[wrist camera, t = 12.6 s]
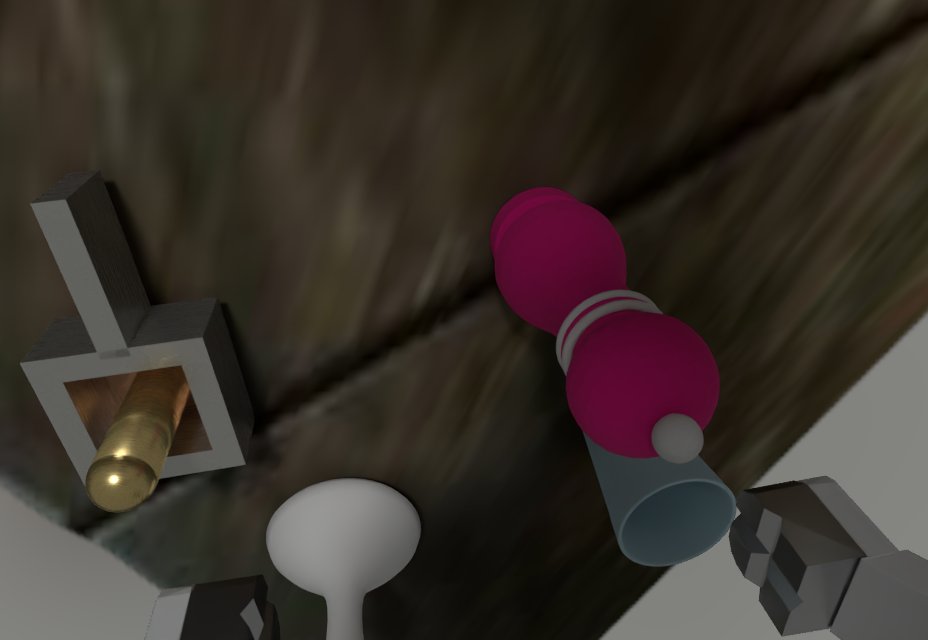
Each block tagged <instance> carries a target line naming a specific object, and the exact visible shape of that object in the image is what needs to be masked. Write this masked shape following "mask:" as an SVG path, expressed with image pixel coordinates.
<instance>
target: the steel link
mask: <svg viewBox="0 0 928 640" xmlns="http://www.w3.org/2000/svg"><path fill="white" fill-rule="evenodd" d="M31 206H32V208H33V211H34V213H35V215H36V217H37V220H38V222H39V224H40V226H41V228H42V231H43V233H44V235H45V237H46V240H47V242H48V244H49V246H50V249H51V251H52V253H53V255H54V257H55V260H56V262H57V264H58V266H59V269H60V271H61V273H62V275H63V277H64V280H65V282H66V284H67V286H68V289H69V291H70V293H71V295H72V297H73V300H74V302H75V304H76V306H77V309H78V311H79V313H80V316H73V317H65V318H58V319H55V320H54V321H53V322H52V323H51V325H50V326H49V327H48V328H47V330H46V331H45V332H44V333H43V335H42V336H41V337H40V338H39V340H38V341H37V342H36V343H35V345H34V346H33V347H32V348H31V350H30V351H29V352H28V353H27V355H26V356H25V357H24V358H23V360H22V361H21V362H20V365H21V367H22V368H23V370H24V372H25V374H26V376H27V378H28V380H29V382H30V383H31V385H32V387H33V389H34V391H35V393H36V395H37V397H38V399H39V400H40V402H41V404H42V406H43V408H44V410H45V412H46V414H47V415H48V417H49V419H50V421H51V423H52V425H53V427H54V429H55V430H56V432H57V434H58V436H59V438H60V440H61V442H62V444H63V446H64V447H65V449H66V451H67V453H68V455H69V457H70V459H71V461H72V462H73V464H74V466H75V468H76V470H77V472H78V474H79V476H80V477H81V479H82V481H83V483H84V485H85V480H86V475H87V472H88V470H89V467H90V465H91V463H92V461H93V459H94V457H95V455H96V453H97V451H98V449H99V447H100V445H101V443H102V441H103V439H104V438H105V436H106V434H107V432H108V430H109V428H110V426H111V424H112V422H113V420H114V418H115V416H116V414H117V412H118V410H119V408H120V406H121V404H122V402H121V399H120V397H119V395H118V393H117V391H116V388H115V386H114V384H113V382H112V379H111V377H110V376H111V375H118V374H125V373H132V372H138V371H145V370H152V369H159V368H166V367H173V366H180V365H182V368H183V371H184V373H185V376H186V379H187V382H188V384H189V387H190V390H191V392H192V395H193V398H194V400H195V403H196V406H197V407H192V408H186V409H184V410H183V413H182V416H181V419H180V421H179V424H178V427H177V430H176V433H175V435H174V438H173V441H172V444H171V447H170V449H169V452H168V455H167V458H166V460H165V463H164V466H163V469H162V472H161V474H160V477H159V479H160V478H167V477H173V476H179V475H185V474H191V473H198V472H204V471H210V470H216V469H222V468H228V467H235V466H241V465H246V461H247V455H248V450H249V445H250V440H251V435H252V430H253V425H254V420H255V415H254V412H253V408H252V405H251V402H250V399H249V396H248V392H247V389H246V386H245V383H244V380H243V376H242V373H241V370H240V367H239V364H238V360H237V357H236V354H235V351H234V347H233V344H232V341H231V338H230V335H229V331H228V328H227V325H226V322H225V319H224V315H223V312H222V309H221V306H220V303H219V299H218V297H214V298H206V299H199V300H192V301H184V302H177V303H169V304H162V305H154V306H151V305H150V302H149V299H148V297H147V294H146V291H145V289H144V286H143V284H142V281H141V278H140V276H139V273H138V270H137V268H136V265H135V262H134V260H133V257H132V254H131V252H130V249H129V247H128V244H127V241H126V239H125V236H124V233H123V231H122V228H121V225H120V223H119V220H118V217H117V215H116V212H115V210H114V207H113V204H112V202H111V199H110V196H109V194H108V191H107V188H106V186H105V183H104V180H103V178H102V175H101V173H100V170H95V171H86V172H77V173H69V174H67V175H66V176H65V177H64V178H62V179H61V180H60V181H58V182H57V183H56V184H55V185H53V186H52V187H51V188H50V189H48V190H47V191H46V192H44V193H43V194H42V195H41V196H39V197H38V198H37V199H36V200H34V201H33V202H32V203H31ZM85 487H86V485H85Z"/></svg>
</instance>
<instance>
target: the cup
mask: <svg viewBox="0 0 928 640" xmlns="http://www.w3.org/2000/svg"><path fill="white" fill-rule="evenodd" d="M583 433H584V432H583ZM584 437H585V440H586V443H587V446H588V449H589V452H590V456H591V459H592V462H593V465H594V468H595V471H596V474H597V477H598V480H599V483H600V487H601V490H602V493H603V496H604V499H605V502H606V505H607V508H608V511H609V514H610V519H611V522H612V525H613V528H614V532H615V535H616V538H617V541H618V544H619V547H620V549H621V551H622V552H623V554H624V555H625V556H626V557H627V558H629V559H630V560H632V561H634V562H636V563H638V564H641V565H646V566H669V565H674V564H679V563H682V562H684V561H687V560H690V559H692V558H694V557H696V556H699V555H700V554H702V553H704V552H706V551H707V550H709V549H710V548H711V547H713V546H714V545H715V544H716V543H717V542H719V541H720V540H721V538H722V537H723V536H724V535H725V534H726V532H727V531H728V530H729V528H730V527H731V523H732V522H733V521H734V518H735V514H736V500H735V497H734V495H733V493H732V492H731V490H730V489H729V488H728V487H727V486H726V485H725V484H724V483H723V482H722V480H721V479H720V478H719V477H718V476H717V475H716V474H715V473H714V472H713V471H712V469H711V468H710V467H709V466H708V465H707V464H706V463H705V462H704V461H703V460H702V459H701V458H700V457H699V455H697V456H696V457H695V458H694V459H693V460H691V461H689V462H687V463H679V464H677V463H672V462H668V461H667V460H665V459H663V458H662V457H661V456H659V457H653V458H629V457H625V456H621V455H617V454H614V453H611V452H608V451H607V450H605V449H604V448H602V447H600V446H599V445H597V444H596V443H594V442H593V441H592V440H591V439H590V438H589V437H588V436H587V435H586V434H585V433H584Z"/></svg>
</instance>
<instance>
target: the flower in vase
mask: <svg viewBox="0 0 928 640" xmlns="http://www.w3.org/2000/svg"><path fill="white" fill-rule="evenodd" d="M420 534H421V523H420V519H419V516H418V513H417V511H416V509H415V508H414V506H413V505H412V504H411V503H410V502H409V501H408V500H407V499H406V498H405V497H404V496H403V495H401V494H400V493H399V492H397V491H396V490H394V489H393V488H391V487H389V486H387V485H385V484H382V483H380V482H376V481H373V480H368V479H361V478H339V479H332V480H327V481H323V482H319V483H316V484H313V485H311V486H309V487H306V488H304V489H303V490H301V491H299V492H297V493H296V494H295V495H293V496H292V497H291V498H289V499H288V500H287V501H286V502H285V503H283V504H282V505H281V506H280V507H279V508H278V510H277V511H276V512H275V513H274V515H273V517H272V518H271V520H270V522H269V525H268V528H267V533H266V543H267V548H268V551H269V554H270V557H271V559H272V561H273V564H274V565H275V567H276V568H277V569H278V570H279V572H280V573H281V574H282V575H284V576H285V577H286V578H287V579H289V580H290V581H291V582H293V583H294V584H296V585H297V586H299V587H301V588H303V589H305V590H307V591H310V592H313V593H316V594H319V595H322V596H324V597H325V599H326V602H327V608H328V626H327V638H326V640H364V637H363V627H362V604H363V599H364V596H365V594H366V593H367V592H369V591H371V590H373V589H375V588H377V587H379V586H381V585H383V584H384V583H386V582H388V581H389V580H390V579H392V578H393V577H394V576H395V575H396V574H398V573H399V572H400V571H401V570H402V569H403V568H404V567H405V566H406V565H407V564H408V563H409V561H410V560H411V558H412V557H413V555H414V553H415V551H416V548H417V545H418V542H419V539H420Z"/></svg>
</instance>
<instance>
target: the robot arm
mask: <svg viewBox="0 0 928 640" xmlns="http://www.w3.org/2000/svg"><path fill="white" fill-rule="evenodd" d="M736 506H737V508H738V509H739V511H740V512H741V514H740V515H739V516H738V517H737V518H736V519H735V520H734V521H733V522H732V523H731V527H730V533H729V540H730V546H731V552H732V554H733V557H734V559H735V562H736V564H737V566H738V567H739V569H740V571H741V572H742V574H743V576H744V577H745V578H746V579H748V580H750V581H751V582H753V583H754V584H756V585H758V586H759V587H760V595H759V601H760V603H761V605H762V606H763V607H764V609H765V611H766V612H767V614H768V616H769V617H770V619H771V620H772V622H773V623H774V625H775V627H776V628H777V630H778V631H779V633H780V635H781V636H788V635H794V634H800V633H806V632H812V631H817V630H823V629H829V628H831V630H830V632H832V633H833V634H834V635H836V636H837V637H838V638H840V639H841V640H928V560H926V559H924V558H922V557H920V556H918V555H916V554H915V553H912V552H911V551H909V550H903V551H899V550H898V549H897V548H896V547H895V546H894V545H893V544H892V543H891V542H890V541H889V539H888V538H887V537H886V536H885V535H884V534H883V533H882V532H881V531H880V530H879V529H878V528H877V526H876V525H875V524H874V523H873V522H872V521H871V520H870V519H869V518H868V516H867V515H866V514H865V513H864V512H863V511H862V510H861V509H860V508H859V507H858V505H857V504H856V503H855V502H854V501H853V500H852V499H851V498H850V497H849V496H848V495H847V494H846V492H845V491H844V490H843V489H842V488H841V487H840V486H839V485H838V484H837V483H836V482H835V481H834V480H833V479H831V478H829V477H827V476H822V477H816V478H810V479H805V480H799V481H789V482H784V483H779V484H774V485H768V486H763V487H757V488H752V489H747V490H743V491H742V492H741V493H740V494H739V495H738V499H737V503H736ZM267 591H268V586H267V584H266V581H265V579H264V576H263V574H262V575H255V576H249V577H242V578H235V579H228V580H221V581H214V582H208V583H201V584H194V585H188V586H182V587H176V588H170V589H164V590H162V592H161V593H160V595H159V596H158V598H157V600H156V601H155V605H154V608H153V612H152V615H151V619H150V622H149V625H148V629H147V633H146V636H145V639H144V640H280V626H279V620H278V615H277V611H276V608H275V605H274V604H273V603H271V602H269V601H267Z"/></svg>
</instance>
